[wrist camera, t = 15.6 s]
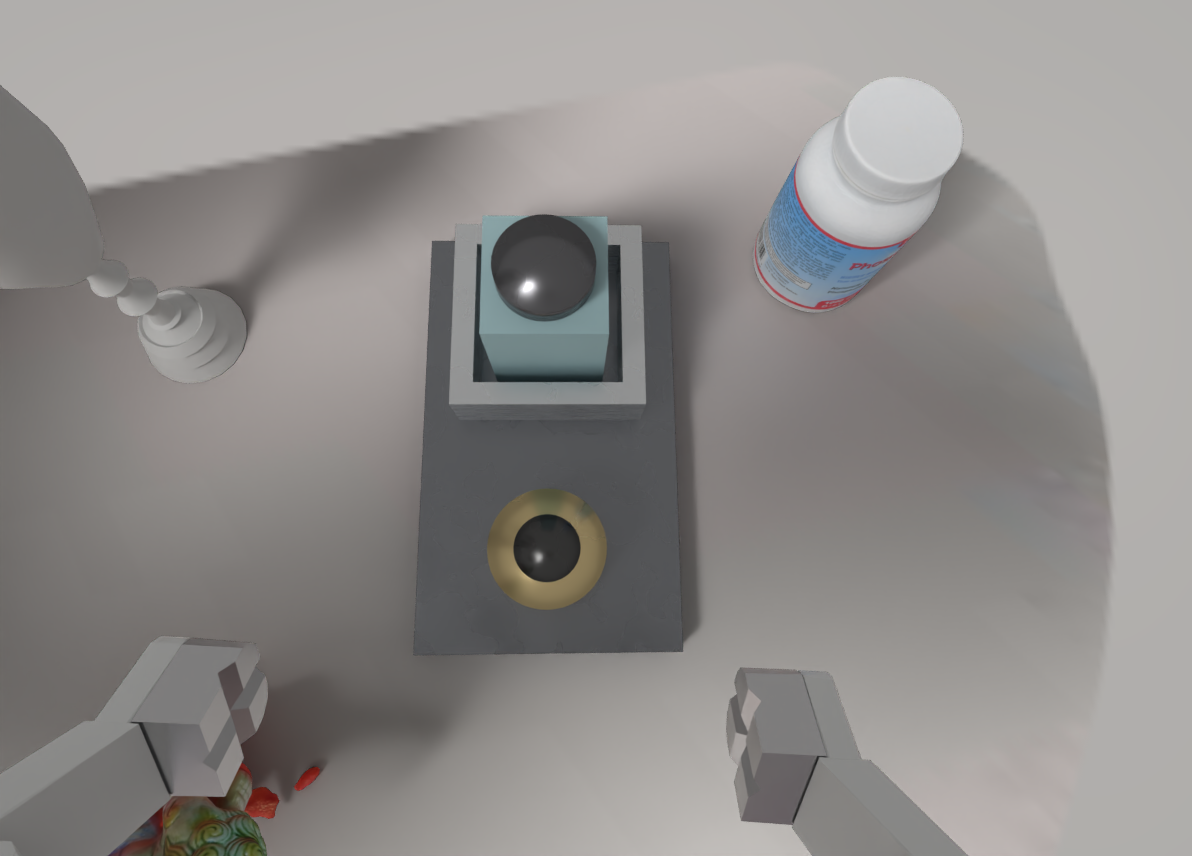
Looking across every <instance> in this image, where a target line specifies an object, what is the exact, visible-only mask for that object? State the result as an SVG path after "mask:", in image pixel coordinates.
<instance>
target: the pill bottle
mask: <svg viewBox="0 0 1192 856" xmlns="http://www.w3.org/2000/svg"><path fill="white" fill-rule="evenodd" d="M962 146H963V127H962V122H961V119H960V117H959V114H958V112H957V110H956V109H955V107H954V106H953V104H952V103H951V102H950V100H949V99H948V98H947V97H945V95H944V94H942V93H941V92H940V91H939V90H937V89H936V88H934V87H933V86H931V85H929V84H927V83H925V82H922V81H920V80H917V79H913V78H908V77H887V78H882V79H879V80H876V81H873V82H871V83H869V84H867V85H866V86H864V87H863V88H862V89H861V90H859V91H858V92H857V93H856V94H855V96H854V97H853V98H852V99H851V101H850V102H849V104H848V106H847V107H846V109H845V110H844V111H843V113H842V114H841V116H839V117H836V118H834V119H832V120H831V121H829V122H827V123H826V124H824V125H823V126H822V127H821V128H819V129H818V130H817V131H816V132H815V133H814V134H813V135H812V137H811V138H810V139H809V141H808V142H807V144H806V145H805V147H804V149H803V150H802V152H801V154H800V156H799V158H798V159H797V161H796V163H795V165H794V167H793V169H792V171H791V172H790V174H789V176H788V178H787V180H786V182H785V183H784V185H783V187H782V189H781V191H780V193H779V195H778V196H777V198H776V200H775V202H774V204H773V206H772V208H771V210H770V211H769V213H768V215H767V217H766V219H765V221H764V223H763V225H762V227H761V229H760V231H759V233H758V235H757V237H756V240H755V243H754V248H753V263H754V268H755V272H756V275H757V277H758V279H759V281H760V282H761V284H762V285H763V287H764V288H765V289H766V290H767V291H768V292H769V293H770V294H771V295H772V296H773V297H774V298H776V299H777V300H778V301H780V302H782V303H783V304H785V305H787V306H789V307H792V308H794V309H797V310H801V311H805V312H814V313H818V312H826V311H830V310H833V309H836V308H838V307H840V306H842V305H844V304H845V303H847V302H848V301H850V300H851V299H852V298H853V297H854V296H855V295H856V294H857V293H858V292H859V291H860V290H861V289H862V288H863V287H864V286H865V285H866V284H867V283H868V282H869V281H870V280H871V279H872V278H873V277H874V276H875V274H876V273H877V272H878V271H879V270H880V269H881V268H882V267H883V266H884V265H885V264H886V263H887V262H888V261H889V260H890V259H891V258H892V257H893V256H894V255H895V254H896V253H897V252H898V251H899V250H900V249H901V248H902V247H903V246H904V245H905V244H906V242H907V241H908V240H909V239H910V238H911V237H912V236H913V235H914V234H915V233H916V232H917V231H918V230H919V229H920V228H921V227H922V226H923V224H924V223H925V222H926V221H927V220H928V218H929V217H930V215H931V214H932V212H933V210H934V209H935V207H936V204H937V202H938V199H939V195H940V190H941V181H942V179H943V178H944V176H945V175H946V173H947V172H948V171H949V170H950V169H951V168H952V166H953V165H954V164H955V162H956V161H957V159H958V157H959V155H960V152H961V149H962Z"/></svg>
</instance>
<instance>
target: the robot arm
mask: <svg viewBox="0 0 1192 856" xmlns="http://www.w3.org/2000/svg"><path fill="white" fill-rule="evenodd" d="M259 659H260V654H259V651H258V648H257V645H256V643H250V642H238V641H226V640H213V639H201V638H186V637H170V636H160V637H158V638H157V639H155V640H154V641H153V642H151V643H150V644H149V645H148V647H147V648H146V650H145V651H144V652H143V654H142V655H141V657H140V658H139V659H138V661H137V662H136V663H135V665H134V666H133V668H132V669H131V670H130V672H129V673H128V675H127V676H126V677H125V679H124V680H123V681H122V683H121V684H120V686H119V687H118V688H117V690H116V691H115V693H114V694H113V695H112V697H111V698H110V699H109V701H108V702H107V704H106V705H105V706H104V708H103V709H102V711H101V712H100V713H99V715H98V716H97V717H96V719H95V720H94V721H83V722H82V723H80V724H79V725H77V726H75V727H74V728H72V729H71V730H69V731H68V732H66V733H64V734H63V735H61V736H60V737H58V738H56V739H55V740H53V741H52V742H50V743H48V744H47V745H45V746H44V747H42V748H41V749H39V750H37V751H36V752H34V753H33V754H31V755H29V756H28V757H26V758H25V759H23V760H21V761H20V762H18V763H17V764H15V765H14V766H12V767H10V768H9V769H7V770H6V771H4V772H2V773H1V774H0V856H108V855H109V854H110V853H111V852H112V851H113V850H115V849H116V848H117V847H118V846H119V845H120V844H121V843H122V842H123V841H125V840H126V839H127V838H128V837H129V836H130V835H131V834H132V833H133V832H135V831H136V830H137V829H138V828H139V827H140V826H141V825H142V824H143V823H145V822H146V821H147V820H148V819H149V818H150V817H151V816H152V815H153V814H155V813H156V812H157V811H158V810H159V809H160V808H161V807H162V806H163V805H164V804H166V803H167V802H168V801H169V800H170V796H208V797H225V796H226V794H227V792H228V790H229V788H230V786H231V784H232V781H233V779H234V777H235V775H236V773H237V771H238V769H239V767H240V765H241V763H242V761H243V759H244V756H243V753H242V749H241V746H240V745H241V744H242V743H243V742H245V741H246V740H247V739H249V738H250V737H251V736H253V735H254V734H255V733H256V732H257V730H258V727H259V725H260V723H261V721H262V719H263V716H264V712H265V708H266V704H267V699H268V684H267V680H266V676H265V674H263V673H262V672H261V671H260V670H259V669H257V668H256V665H257V663H258V661H259ZM735 687H736V693H737V694H736V695H735V696H734V697H732V698H731V699H730V702H729V706H728V711H727V725H726V731H727V743H728V749H729V756H730V757H731V759H732V760H733V761H734V762H735V763H736V764H737V765H738V769H737V773H736V776H735V780H734V785H735V790H736V796H737V801H738V807H739V813H740V818H741V821H747V822H760V823H773V824H787V825H793V826H792V828H793V830H794V831H795V833H796V834H797V835H798V837H799V838H800V839H801V841H802V842H803V844H804V845H805V846H806V848H807V849H808V850H809V852H810V853H811V855H812V856H968V855H967V854H966V853H965V852H964V851H963V850H962V849H961V848H960V847H959V846H958V845H957V844H956V843H955V842H954V841H953V840H952V839H951V838H950V837H949V836H948V835H947V834H946V833H945V832H944V831H943V830H941V829H940V828H939V827H938V826H937V825H936V824H935V823H934V822H933V821H932V820H931V819H930V818H929V817H928V816H927V815H926V814H925V813H924V812H923V811H922V810H921V809H920V808H919V807H918V806H917V805H916V804H915V803H914V802H913V801H912V800H911V799H910V798H909V797H908V796H907V795H906V794H905V793H904V792H903V791H902V790H901V789H900V788H899V787H897V786H896V785H895V784H894V783H893V782H892V781H891V780H890V779H889V778H888V777H887V776H886V775H885V774H884V773H883V772H882V771H881V770H880V769H879V768H878V767H877V766H876V765H875V764H874V763H873V762H872V761H871V760H864V759H861V756H860V753H859V751H858V748H857V745H856V742H855V739H854V737H853V734H852V731H851V728H850V725H849V722H848V720H847V717H846V714H845V711H844V708H843V706H842V703H841V700H840V697H839V694H838V691H837V689H836V686H835V683H834V680H833V677H832V676H831V675H830V674H829V673H828V672H818V671H797V670H789V669H764V668H740V669H739V670H738V672H737V675H736V678H735Z"/></svg>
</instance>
